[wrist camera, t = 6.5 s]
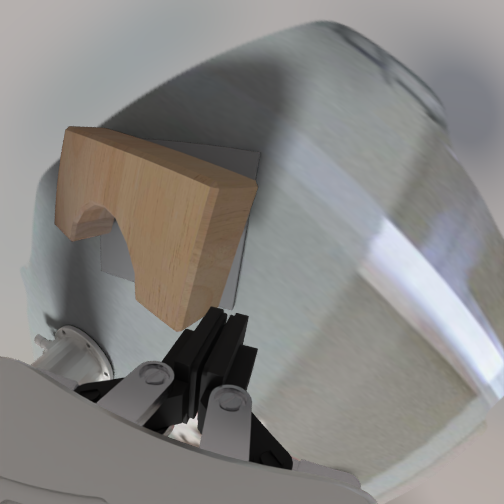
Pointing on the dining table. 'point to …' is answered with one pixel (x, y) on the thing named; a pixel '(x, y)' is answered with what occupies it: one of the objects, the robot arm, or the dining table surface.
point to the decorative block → (156, 216)
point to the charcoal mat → (235, 160)
